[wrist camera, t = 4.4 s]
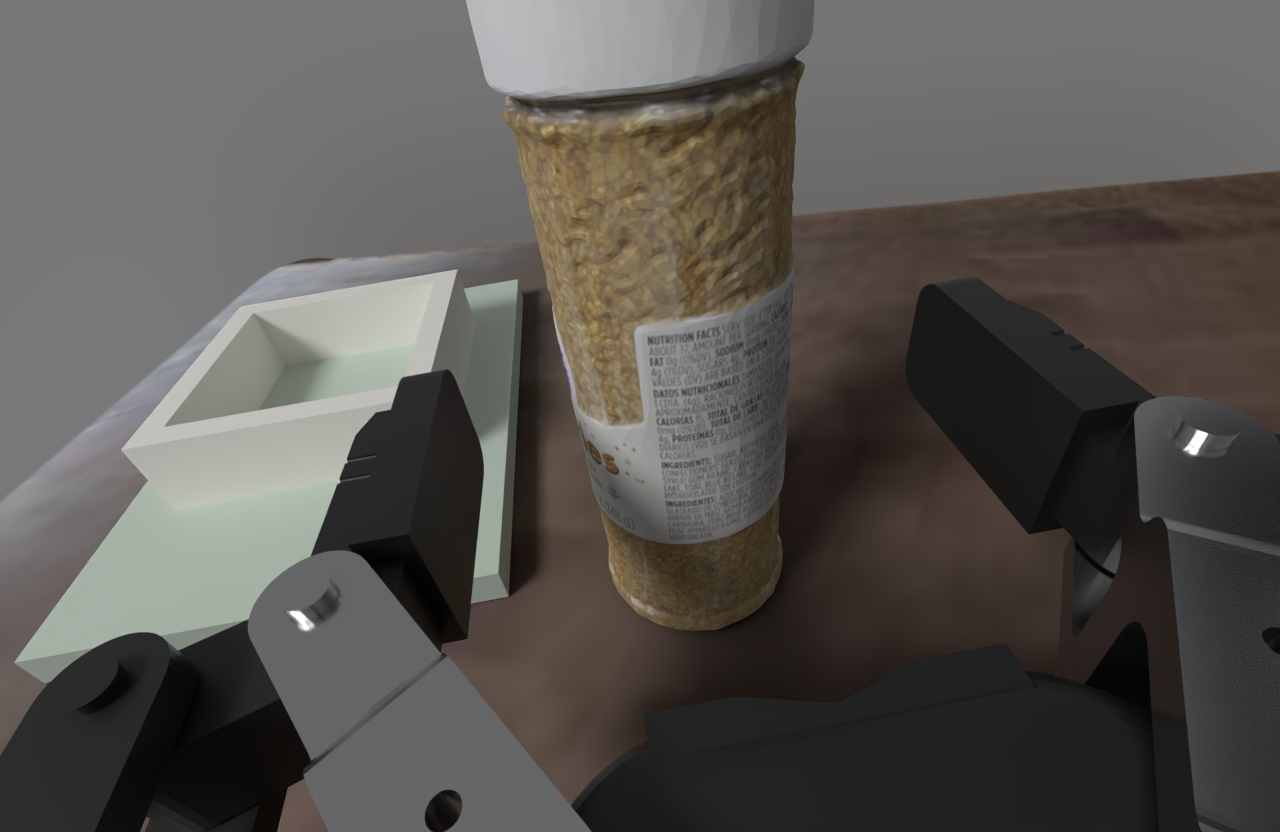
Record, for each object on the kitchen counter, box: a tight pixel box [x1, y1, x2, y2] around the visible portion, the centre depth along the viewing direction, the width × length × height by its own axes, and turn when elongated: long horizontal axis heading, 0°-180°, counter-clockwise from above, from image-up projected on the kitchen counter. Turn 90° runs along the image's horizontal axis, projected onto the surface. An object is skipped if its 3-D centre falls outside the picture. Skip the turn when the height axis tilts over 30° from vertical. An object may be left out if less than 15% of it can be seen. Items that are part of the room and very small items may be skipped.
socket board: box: [14, 270, 523, 683], centre depth 21 cm, size 12×17×4 cm
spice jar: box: [466, 0, 814, 631], centre depth 12 cm, size 5×5×13 cm
